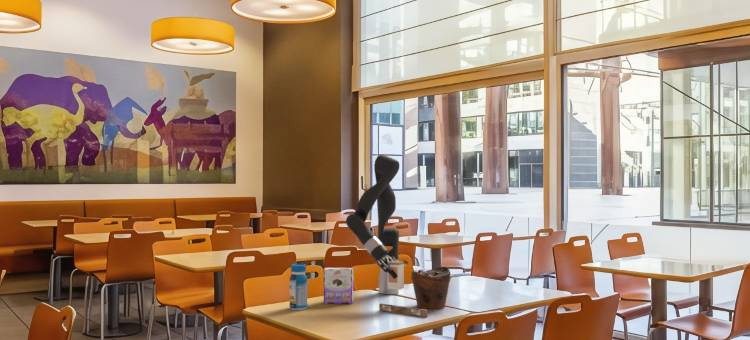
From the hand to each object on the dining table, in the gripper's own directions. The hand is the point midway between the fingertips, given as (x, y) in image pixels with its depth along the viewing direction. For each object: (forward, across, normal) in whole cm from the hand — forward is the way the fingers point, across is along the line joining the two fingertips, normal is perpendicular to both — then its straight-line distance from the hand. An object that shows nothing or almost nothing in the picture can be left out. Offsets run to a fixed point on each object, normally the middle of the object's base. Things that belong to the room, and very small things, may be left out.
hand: (399, 276), depth 293 cm
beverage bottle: (-18, -20, +40) cm, 48 cm away
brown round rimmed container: (+18, +13, +4) cm, 22 cm away
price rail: (+14, -7, +7) cm, 17 cm away
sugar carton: (+3, 0, +5) cm, 6 cm away
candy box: (-12, 0, +33) cm, 35 cm away
